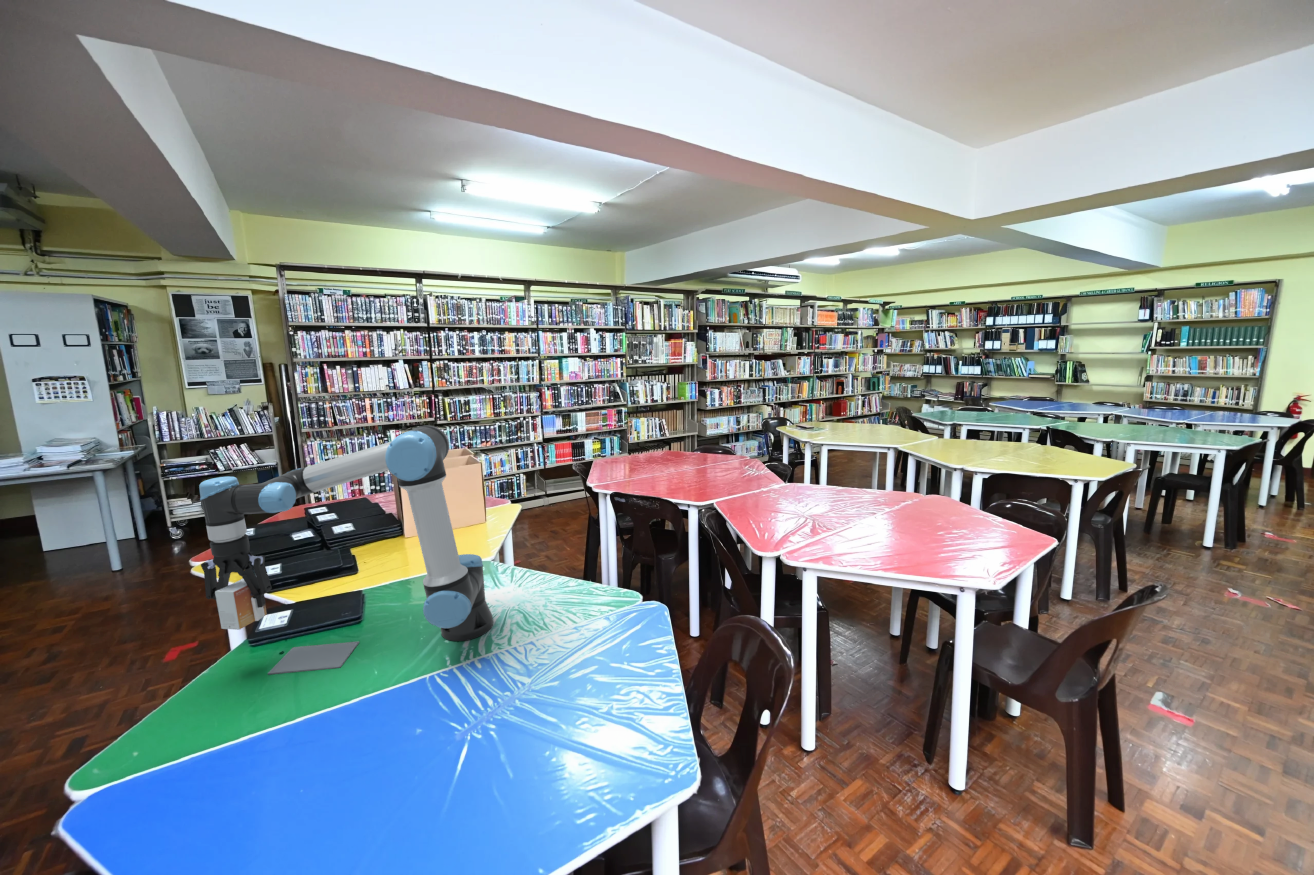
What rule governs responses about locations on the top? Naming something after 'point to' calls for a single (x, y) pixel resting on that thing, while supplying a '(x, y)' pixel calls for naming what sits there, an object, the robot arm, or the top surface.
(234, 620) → the small box
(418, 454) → the robot arm
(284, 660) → the mat
